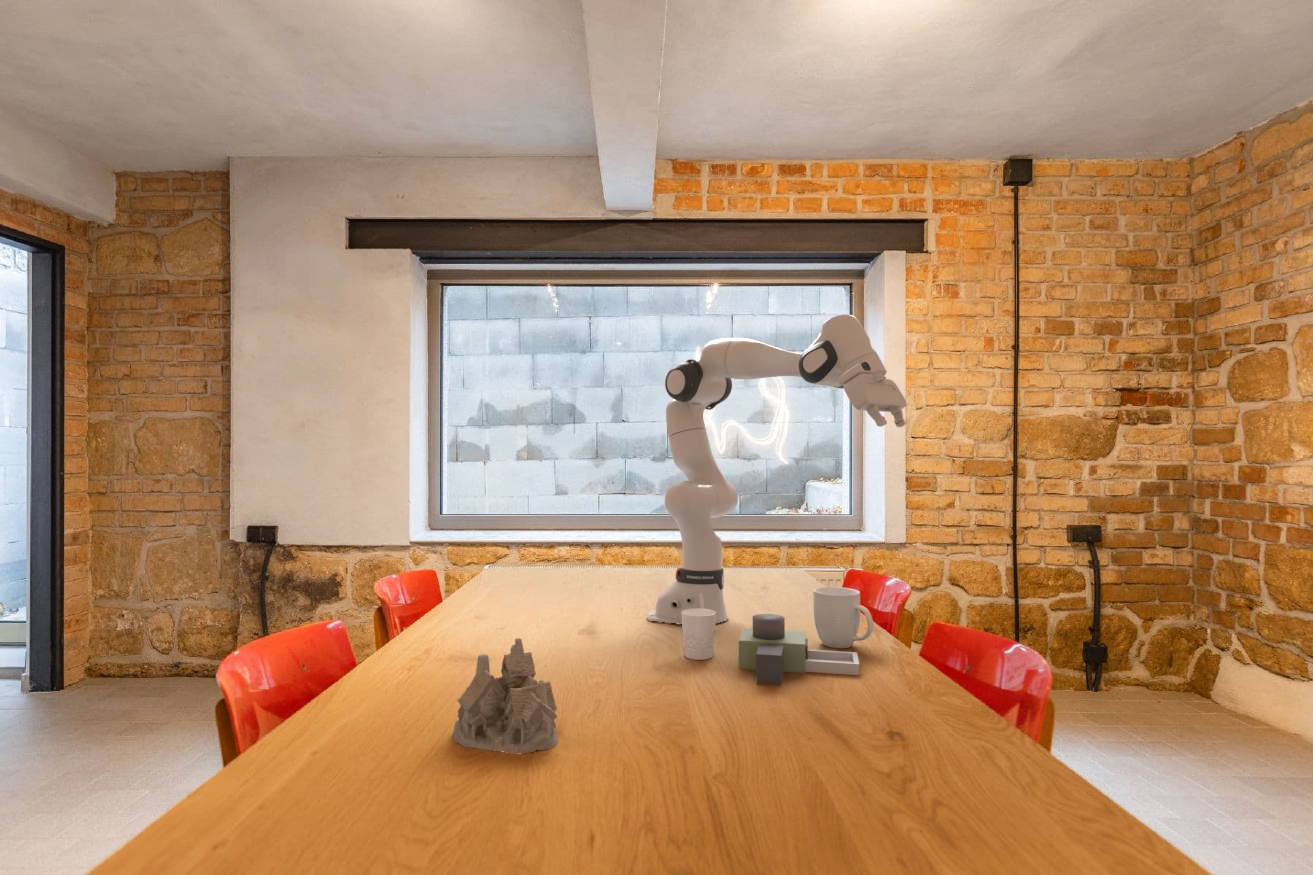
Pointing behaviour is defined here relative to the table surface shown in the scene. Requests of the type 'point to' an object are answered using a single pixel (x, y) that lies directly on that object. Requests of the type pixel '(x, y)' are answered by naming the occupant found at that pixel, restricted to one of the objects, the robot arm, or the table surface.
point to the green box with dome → (792, 649)
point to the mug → (839, 616)
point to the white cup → (698, 633)
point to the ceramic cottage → (507, 707)
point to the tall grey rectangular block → (769, 664)
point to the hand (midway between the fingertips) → (892, 425)
